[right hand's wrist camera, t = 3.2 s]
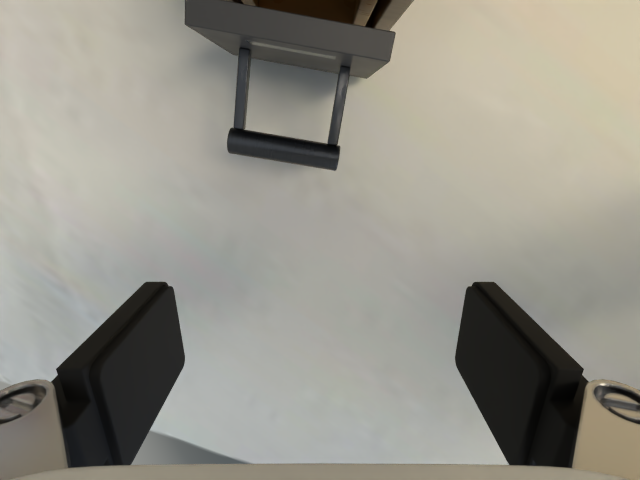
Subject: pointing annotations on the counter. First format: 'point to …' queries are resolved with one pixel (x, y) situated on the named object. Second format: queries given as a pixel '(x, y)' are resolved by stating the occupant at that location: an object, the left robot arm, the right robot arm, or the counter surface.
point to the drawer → (293, 59)
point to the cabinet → (381, 13)
